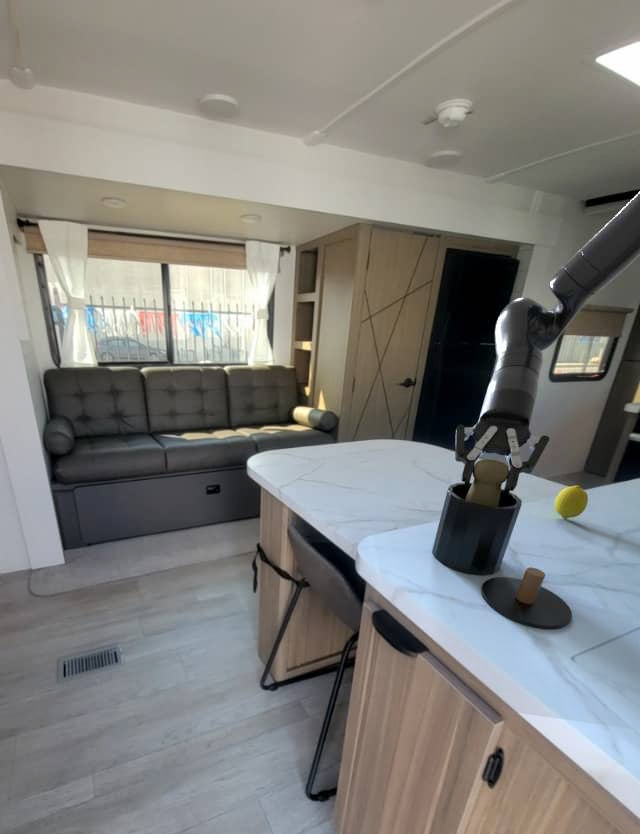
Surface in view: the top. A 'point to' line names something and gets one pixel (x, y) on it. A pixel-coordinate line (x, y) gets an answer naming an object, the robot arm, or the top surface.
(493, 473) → the cork
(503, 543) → the canister
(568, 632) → the top surface
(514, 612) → the lid
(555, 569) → the top surface
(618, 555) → the top surface
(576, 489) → the lemon
